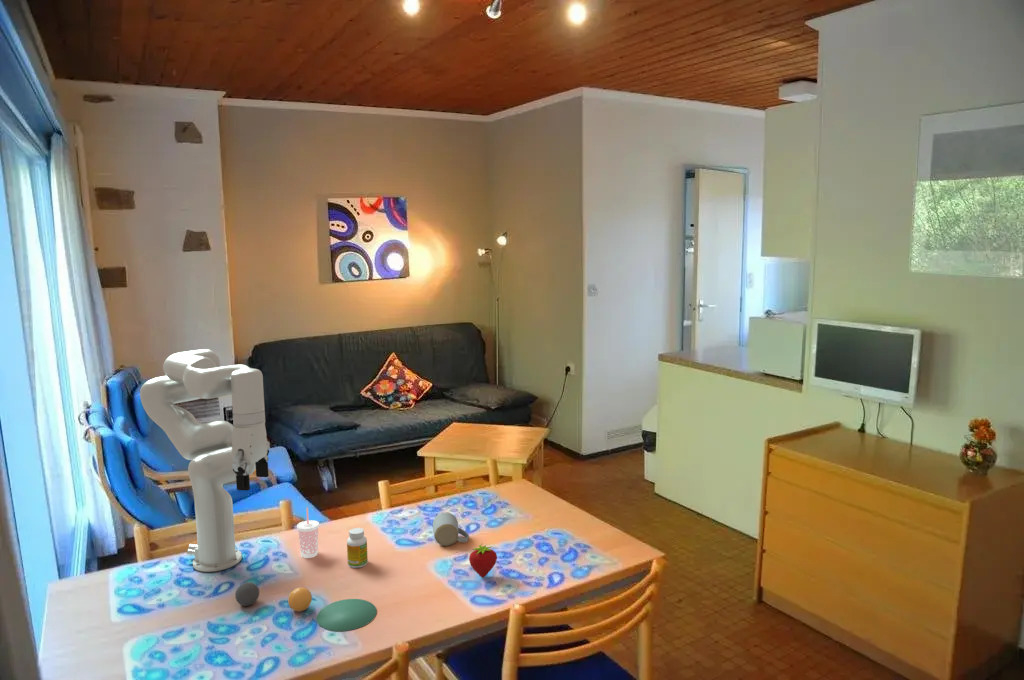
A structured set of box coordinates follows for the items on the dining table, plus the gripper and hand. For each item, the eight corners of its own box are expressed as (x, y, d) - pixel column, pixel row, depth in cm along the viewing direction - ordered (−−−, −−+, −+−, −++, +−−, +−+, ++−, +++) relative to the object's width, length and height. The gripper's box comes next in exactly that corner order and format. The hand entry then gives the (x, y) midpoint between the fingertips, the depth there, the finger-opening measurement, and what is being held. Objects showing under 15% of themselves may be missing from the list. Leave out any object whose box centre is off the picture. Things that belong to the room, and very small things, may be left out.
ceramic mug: (434, 548, 198) (434, 523, 197) (432, 536, 206) (432, 512, 205) (470, 546, 200) (470, 521, 199) (467, 534, 208) (467, 510, 207)
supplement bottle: (362, 569, 186) (361, 535, 184) (344, 567, 187) (343, 534, 185) (370, 560, 191) (369, 527, 190) (352, 558, 192) (351, 525, 191)
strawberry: (499, 580, 180) (499, 544, 178) (471, 584, 177) (471, 548, 176) (494, 570, 185) (493, 535, 184) (467, 573, 183) (466, 538, 182)
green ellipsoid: (305, 627, 158) (305, 627, 158) (332, 597, 171) (332, 596, 171) (362, 634, 155) (362, 633, 155) (385, 602, 169) (385, 601, 169)
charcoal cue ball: (231, 609, 166) (230, 587, 165) (244, 597, 171) (242, 577, 170) (252, 611, 165) (250, 590, 164) (264, 599, 170) (263, 579, 169)
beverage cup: (311, 560, 191) (309, 513, 189) (293, 557, 193) (291, 510, 191) (324, 551, 196) (322, 505, 194) (307, 548, 199) (305, 502, 197)
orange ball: (284, 614, 163) (283, 593, 162) (295, 602, 168) (294, 582, 168) (305, 617, 162) (304, 595, 161) (316, 605, 167) (315, 584, 167)
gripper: (252, 409, 180) (255, 471, 183) (216, 426, 163) (221, 494, 166) (279, 410, 179) (282, 472, 182) (245, 427, 162) (250, 496, 165)
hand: (253, 483), depth 174 cm, fingers open, 9 cm apart
